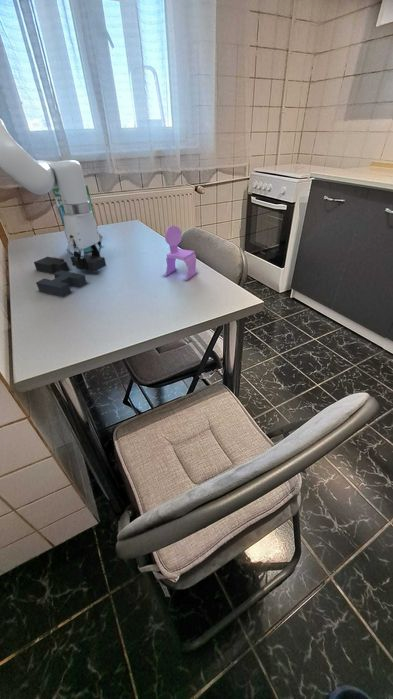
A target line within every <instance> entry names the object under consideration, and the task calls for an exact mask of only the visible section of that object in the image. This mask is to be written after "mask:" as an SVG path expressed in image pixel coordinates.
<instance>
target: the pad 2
mask: <svg viewBox="0 0 393 699" xmlns="http://www.w3.org/2000/svg"><path fill="white" fill-rule="evenodd" d="M84 258H86V262H87V266H88V270H86V271H88V272H93V273H96V272H97V271H100V270H101V269H103V268H105V267H107V263H106V258H105V257H104V256H100V257H99V256H94V255H92V254H88V253H87V254H86V253H85V254H84ZM70 261H71V264H72V266H74V267H75V268H76V269H77V270H83V269H80V268H79V264H78V260H77V258H75V256H73V255H72V256H70ZM83 271H84V270H83Z"/></svg>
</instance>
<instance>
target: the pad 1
mask: <svg viewBox="0 0 393 699" xmlns="http://www.w3.org/2000/svg"><path fill="white" fill-rule="evenodd" d="M33 264H34V267H35V269H36V271H38V272H42V273H48V274H55V273H57V272H59V271H61V270H62V271H67V272H69V271H70V268H69V265H68V262H67V261H65V260H64V258H58V257H52V256H51V257H50V256H45V257H43V258H41V259H38V260H35V261H34V262H33Z"/></svg>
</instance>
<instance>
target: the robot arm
mask: <svg viewBox="0 0 393 699" xmlns="http://www.w3.org/2000/svg"><path fill="white" fill-rule="evenodd" d="M0 168H1V169H2V170H3V171H4V172H5V173H6V174H8V175H9V176H10V177H11V178H12V179H14V180H15V181H16V182H17V183H18V184H19V185H21V186H22V187H23V188H24V189H26V190H27V191H29V192H31V193H32V194H34V195H39V196H44V195H46V194H48V193H49V192H51V191H53V189H55V188H59V191H60V194H61V198H62V202H63V206H64V210H65V214H66V215H64V225H65V230H64V233H65V232H66V234H65V237H66V240H67V244H68V245H67V247H66V252H68V253H69V254H71V255H72V256H75V258H77V260H78V264H79V268H80V269H79V270H82V269H83V271H87V270H88V266H87V262H86V258H84V255H85V253H84V249H85V248H87V247H91V249H92V251H90V253H91V255H94V256H99V257H101V252H100V251H101V247H102V241H103V238H104V237H103V236H102V234H100V233H99V229H98V225H97V222H95V221H96V218H95V219H94V217H95V215H94V216H93V213H92V211H91V209H90V202H89V200H88V195H87V191H86V186H85V185H86V181H85V177H84V172H83V167H82V164H81V163H80V162H79V161H77V160H58V161H50V160H40V159H39V160H36V159H35V158H33V157H32V155H30V153H28V152H27V151H26V150H25V149H24V148H23V147H22V146H21V145H20V144H19V143H18V142H17V141H16V140H15V139H14V138H13V136H12V135H11V134H10V133H9V130H7V128H6V125H5V122H4V120H2V118H1V117H0ZM100 246H101V247H100ZM74 248H75V250H74ZM79 250H80V252H79Z"/></svg>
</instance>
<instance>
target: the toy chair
mask: <svg viewBox="0 0 393 699" xmlns="http://www.w3.org/2000/svg"><path fill="white" fill-rule="evenodd" d="M164 240H165V243H166V244H168V245H169V251H170V252H168V253H167V254H166V258H165V261H166V270H165V274H164V277H167V276H168V275H170V274H171V273H173V272H175V271H176V270H177V267H176V260H180V261H183V262H184V263H185V265H186V267H187V274H186V277H185V281H188V280H189V279H191V278H192V277H193V276H195V275H196V274H197V268H196V267H197V255H196V252H195V250H189V249H183V248H179V247H178V246H179V244H180V243H181V241H182V230H181V228H180V227H179V226H176V225H170V226H168V227H167V228H166V230H165V234H164Z"/></svg>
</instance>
